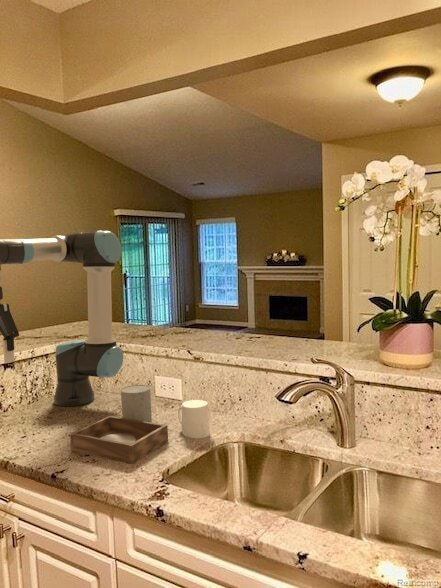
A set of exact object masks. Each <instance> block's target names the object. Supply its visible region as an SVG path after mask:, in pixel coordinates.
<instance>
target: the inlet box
mask: <svg viewBox="0 0 441 588" xmlns="http://www.w3.org/2000/svg"><path fill="white" fill-rule="evenodd" d="M69 434H70V437H69V438H70V451H71V452H75V453H78V454H84V455H88V456H93V457H97V458H103V459H108V460H113V461H116V462H122V463H127V464H131V465H134V464H136V463H137V462H138V461H139V460H141V459H144V457H147V456H148V455H149V454H151V453H152V452H154V451H156V450H158V448H160V447H162V446H163V445H165V444H166V443H168V442H169V427H168V424H164V423H157V422H152V423H151V422H145V421H139V420H133V419H126V418H122V417H118V416H112V415H108V416H106V417H104V418H102V419H99V420H98V421H95V422H93V423H91V424H88V425H87V426H84V427H83V428H80V429H79V430H75V431H73V432H72V433H69Z"/></svg>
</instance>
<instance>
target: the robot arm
mask: <svg viewBox="0 0 441 588" xmlns="http://www.w3.org/2000/svg"><path fill="white" fill-rule="evenodd" d="M122 252H123V251H122V245H121V242H120V240H119V238H118V237H117V235H116V234H115V233H114V232H112V231H109V230H93V231H92V230H91V231H78V232H72V233H68V234H61V235H53V236H51V237H49V238H0V301H1V300H3V299H4V294H3V291H4V290H3V287H2V286H1V285H2V284H3V279H2V265H17V264H18V265H23V264H28V263H30V262H37V261H50V260H51V261H53V262H55V263H59V262H63V263H64V262H66V263H76V264H82V269H84V270H85V272H86V273H87V274H86V275H87V277H86V278H87V279H86V280H87V282H86V283H87V323H88V324H87V327H88V332H87V333H88V335H87V336H88V337H87V338H86V339H79V340H71V341H66V342H63V343H60V344H58V345H56V347H55V366H56V367H55V368H56V378H57V380H56V381H57V384H56V388H55V393H54V395H53V404H54V405H56V406H58V407H59V406H60V407H76V406H82V405H87V404H88V403H91V402H93V401H94V400H95V391H94V390H93V387H92V384H91V382H90V377H94V378H101V379H103V378H113V377H114V376H116V375H117V374H119V372H120V370H121V368H122V366H123V363H124V352H123V350H122V348H121V347H119V346H118V345H117V339H116V338H115V337H113V310H112V309H113V308H112V306H113V305H112V300H113V299H112V271H114V269H116V263H117V262H119V260H120V259H121V257H122ZM0 333H1V335H2V337H3V339H2V347H3V348H2V349H3V360H4V361H3V362H4V364H9V363H15V340H14V339H16V338H17V337H20V332H19V330H18V328H17V325H16V322H15V320H14V317H13V316H12V313H11V309H10V305H9V303H7V302H6V303H0Z"/></svg>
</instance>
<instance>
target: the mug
mask: <svg viewBox="0 0 441 588" xmlns="http://www.w3.org/2000/svg"><path fill="white" fill-rule="evenodd" d="M177 417H178V420H179V423H180V427H181V430H180V431H182V432H181V434H182V435H183V436H185V437H188V438H190V439H191V438H192V439H204V438H207V437H209V436H210V434H211V433H210V432H211V431H210V424H209V423H210V422H209V421H210V414H209V404H208V402H207V401H206V400H204V399H203V400H202V399H192V400H186V401H184V402H182V404H181V406H179V407H178V410H177Z"/></svg>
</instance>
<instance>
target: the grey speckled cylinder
mask: <svg viewBox="0 0 441 588" xmlns="http://www.w3.org/2000/svg"><path fill="white" fill-rule="evenodd" d="M120 397H121V398H120V400H121V418H126V419H133V420H139V421H145V422H151V423H153V420H152V417H153V416H152V398H151V397H152V396H151V386H150V385H145V384H133V385H127V386H124V387H122V388H121V389H120Z"/></svg>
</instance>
